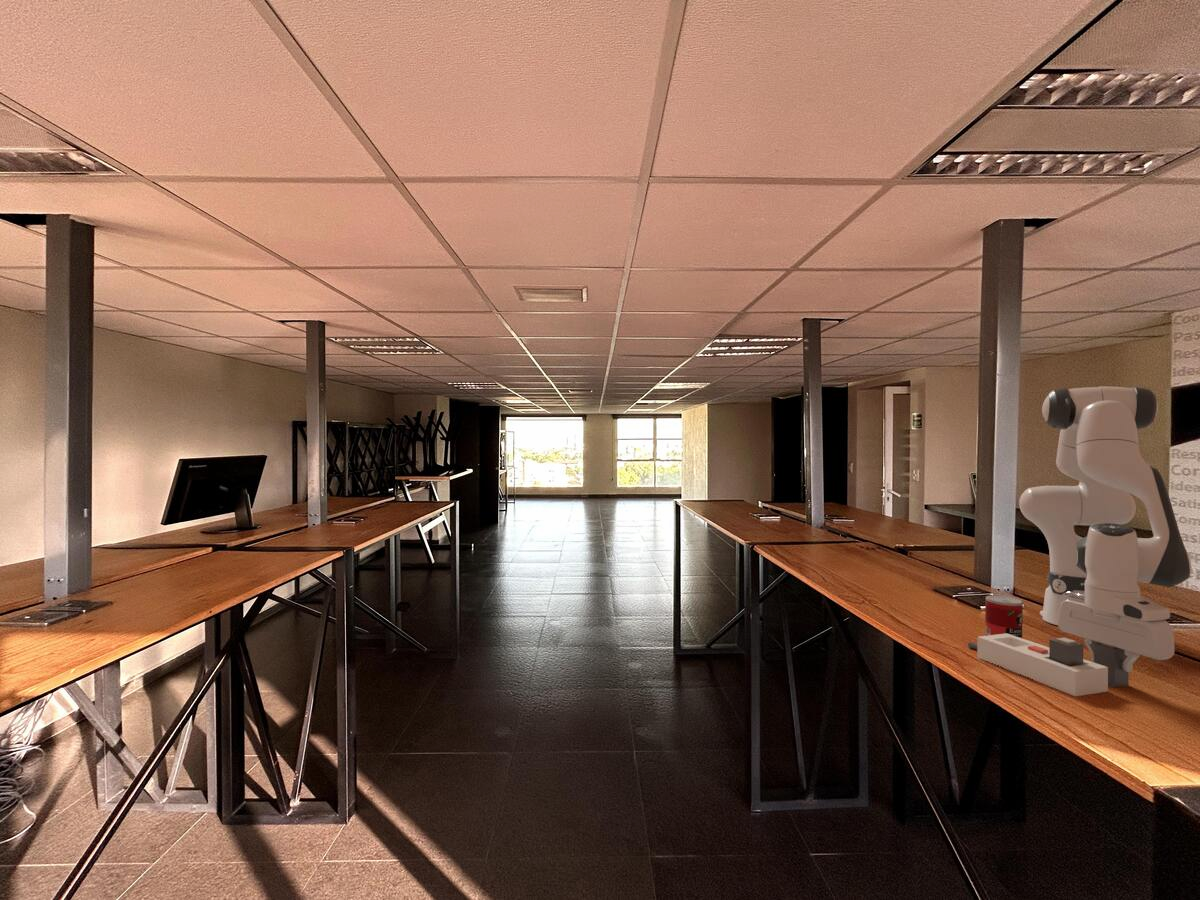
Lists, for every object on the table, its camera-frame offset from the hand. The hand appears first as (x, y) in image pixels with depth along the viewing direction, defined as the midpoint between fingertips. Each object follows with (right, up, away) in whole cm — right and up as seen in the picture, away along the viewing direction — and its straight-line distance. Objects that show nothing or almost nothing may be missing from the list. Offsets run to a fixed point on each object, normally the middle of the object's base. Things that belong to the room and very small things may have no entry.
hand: (1111, 665), depth 123 cm
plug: (0, -4, 0) cm, 4 cm away
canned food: (-5, -4, +26) cm, 26 cm away
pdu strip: (-13, -4, +8) cm, 15 cm away
